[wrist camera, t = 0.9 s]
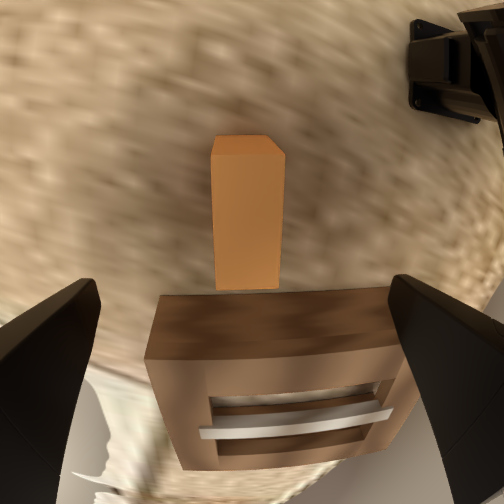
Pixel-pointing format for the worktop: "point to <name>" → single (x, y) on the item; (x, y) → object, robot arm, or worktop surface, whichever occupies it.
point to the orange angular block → (247, 211)
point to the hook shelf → (277, 376)
